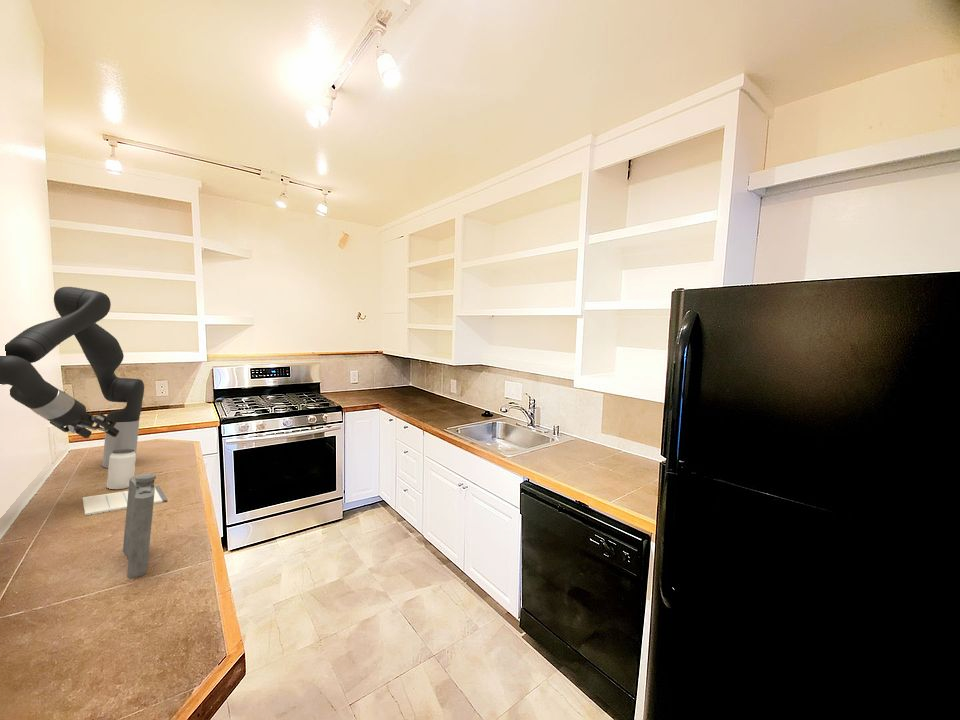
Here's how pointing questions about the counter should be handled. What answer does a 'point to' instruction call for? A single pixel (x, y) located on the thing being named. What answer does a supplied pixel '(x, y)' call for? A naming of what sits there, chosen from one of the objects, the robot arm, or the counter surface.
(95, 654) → the counter surface
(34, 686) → the counter surface
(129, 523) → the grey upright slab
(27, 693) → the counter surface
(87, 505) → the notepad
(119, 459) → the can
